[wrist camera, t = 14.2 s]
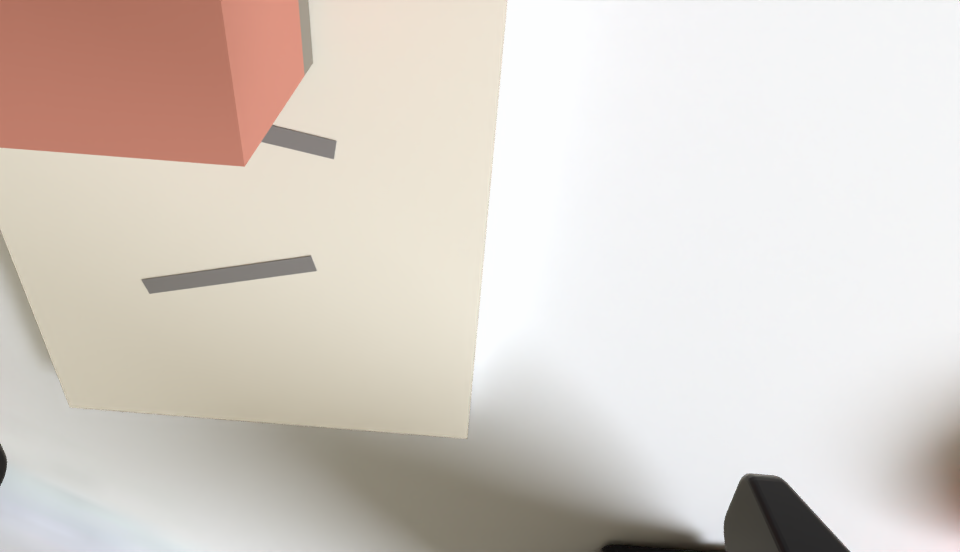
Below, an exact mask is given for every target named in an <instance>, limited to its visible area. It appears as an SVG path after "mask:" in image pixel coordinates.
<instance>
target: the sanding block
mask: <svg viewBox="0 0 960 552" xmlns="http://www.w3.org/2000/svg"><path fill="white" fill-rule="evenodd" d="M312 64H313V55H312V42H311V28H310V15H309V1H308V0H0V148H11V149H24V150H37V151H50V152H63V153H75V154H88V155H101V156H114V157H127V158H140V159H152V160H165V161H178V162H191V163H204V164H217V165H229V166H242V167H245V166H246V164H247V162H248V161H249V159H250V158H251V156H252V155H253V153H254V152H255V150H256V149H257V147H258V146H259V144H260V143H261V141H262V140H263V138H264V137H265V135H266V134H267V132H268V131H269V129H270V128H271V126H272V125H273V123H274V122H275V120H276V118H277V117H278V115H279V114H280V112H281V111H282V109H283V108H284V106H285V105H286V103H287V102H288V100H289V99H290V97H291V96H292V94H293V93H294V91H295V90H296V88H297V87H298V85H299V84H300V82H301V81H302V79H303V77H304V76H305V74H306V73H307V71H308V70H309V68H310V67H311V65H312Z"/></svg>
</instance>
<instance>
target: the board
mask: <svg viewBox="0 0 960 552" xmlns="http://www.w3.org/2000/svg"><path fill="white" fill-rule="evenodd" d="M308 1H309V15H310V28H311V42H312V55H313V64H312V65H311V67H310V68H309V70H308V71H307V73H306V74H305V76H304V77H303V79H302V81H301V82H300V84H299V85H298V87H297V88H296V90H295V91H294V93H293V94H292V96H291V97H290V99H289V100H288V102H287V103H286V105H285V106H284V108H283V109H282V111H281V112H280V114H279V115H278V117H277V118H276V120H275V122H274V123H273V125H272V126H271V128H270V129H269V131H268V132H267V134H266V135H265V137H264V138H263V140H262V141H261V143H260V144H259V146H258V147H257V149H256V150H255V152H254V153H253V155H252V156H251V158H250V159H249V161H248V162H247V164H246V166H245V167H242V166H229V165H217V164H204V163H191V162H178V161H165V160H152V159H140V158H127V157H114V156H101V155H88V154H75V153H63V152H50V151H37V150H24V149H11V148H0V230H1V233H2V235H3V238H4V240H5V243H6V245H7V248H8V251H9V253H10V256H11V258H12V261H13V263H14V266H15V269H16V271H17V274H18V276H19V279H20V281H21V284H22V286H23V289H24V292H25V294H26V297H27V299H28V302H29V304H30V307H31V309H32V312H33V315H34V317H35V320H36V322H37V325H38V327H39V330H40V332H41V335H42V338H43V340H44V343H45V345H46V348H47V350H48V353H49V356H50V358H51V361H52V363H53V366H54V368H55V371H56V373H57V376H58V379H59V381H60V384H61V386H62V389H63V391H64V394H65V396H66V399H67V402H68V404H69V407H71V408H84V409H96V410H109V411H122V412H134V413H147V414H159V415H172V416H185V417H197V418H210V419H222V420H235V421H248V422H260V423H273V424H285V425H298V426H311V427H323V428H336V429H348V430H361V431H374V432H386V433H399V434H411V435H424V436H437V437H449V438H462V439H467V435H468V424H469V413H470V402H471V391H472V381H473V370H474V359H475V348H476V337H477V326H478V315H479V304H480V293H481V282H482V272H483V261H484V250H485V239H486V228H487V217H488V206H489V195H490V184H491V173H492V163H493V152H494V141H495V130H496V119H497V108H498V97H499V86H500V75H501V64H502V54H503V43H504V32H505V21H506V10H507V0H308Z"/></svg>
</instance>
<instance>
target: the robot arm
mask: <svg viewBox="0 0 960 552" xmlns="http://www.w3.org/2000/svg"><path fill="white" fill-rule="evenodd" d="M6 468H7V459H6V455H5V452H4V450H3V448H2V446H1V444H0V486H1V483H2V481H3V479H4V476H5V473H6ZM724 539H725V547H726V552H850V551H849V550H848V549H847V548H846V547H845V546H844V544H843V543H842V542H841V541H840V540H839V539H838V538H837V537H836V536H835V535H834V534H833V532H832V531H831V530H830V529H829V528H828V527H827V526H826V525H825V524H824V523H823V522H822V520H821V519H820V518H819V517H818V516H817V515H816V514H815V513H814V512H813V511H812V510H811V509H810V507H809V506H808V505H807V504H806V503H805V502H804V501H803V500H802V499H801V498H800V497H799V495H798V494H797V493H796V492H795V491H794V490H793V489H792V488H791V487H790V486H789V485H788V483H787V482H785V481H784V480H783V479H782V478H780V477H778V476H774V475H763V474H746V475H744V476H743V477H742V478H741V480H740V482H739V484H738V487H737V489H736V491H735V494H734V496H733V499H732V501H731V503H730V506H729V508H728V511H727V513H726V516H725V521H724ZM601 552H699V551H686V550H673V549H660V548H647V547H635V546H622V545H609V546H606V547H604V548H602V550H601Z"/></svg>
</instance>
